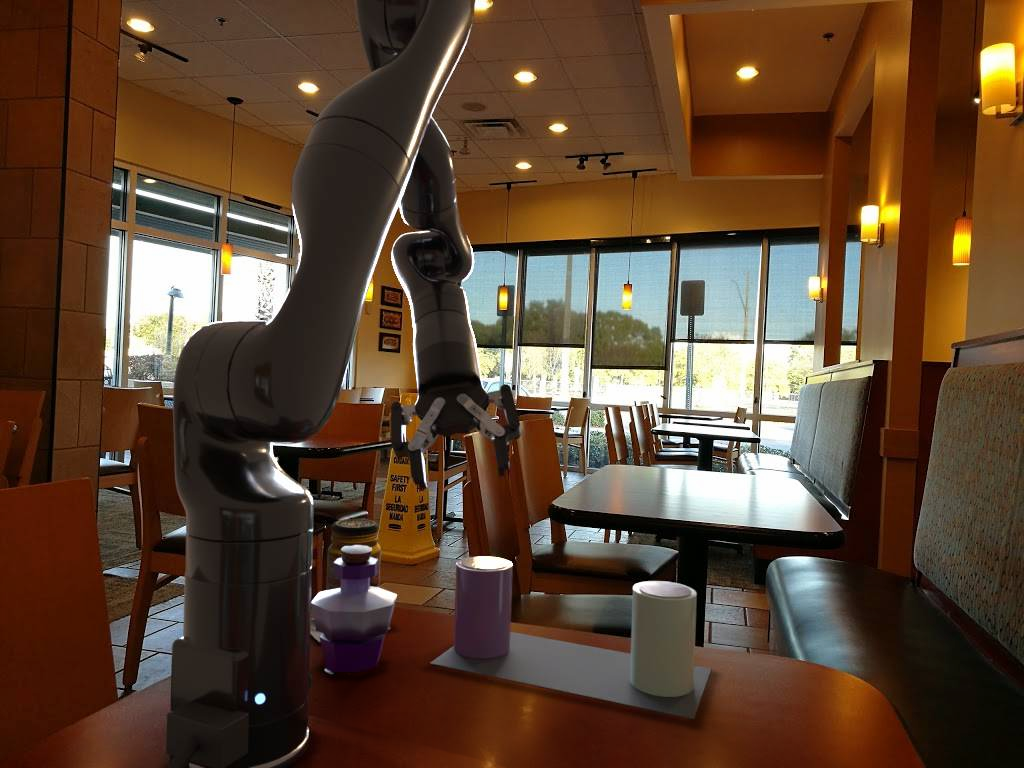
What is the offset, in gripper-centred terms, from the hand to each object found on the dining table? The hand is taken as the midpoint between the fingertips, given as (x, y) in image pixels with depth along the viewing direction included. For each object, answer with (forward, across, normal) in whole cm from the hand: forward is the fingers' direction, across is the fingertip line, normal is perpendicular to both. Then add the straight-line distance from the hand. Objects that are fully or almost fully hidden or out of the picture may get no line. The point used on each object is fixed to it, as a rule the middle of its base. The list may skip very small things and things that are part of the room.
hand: (462, 479), depth 78 cm
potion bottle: (+16, -14, +5) cm, 22 cm away
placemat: (+20, +8, +7) cm, 22 cm away
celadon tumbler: (+23, +16, +5) cm, 28 cm away
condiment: (+9, -16, +14) cm, 24 cm away
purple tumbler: (+15, -1, +10) cm, 18 cm away
